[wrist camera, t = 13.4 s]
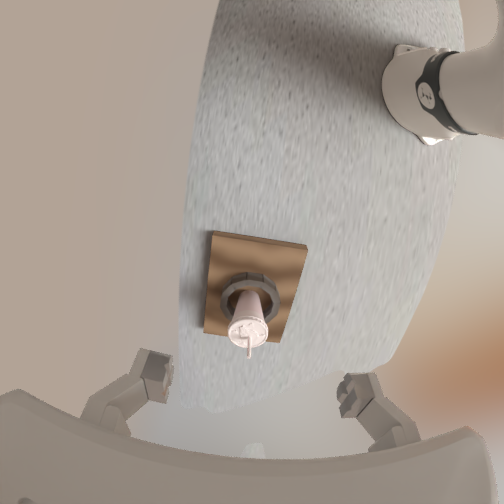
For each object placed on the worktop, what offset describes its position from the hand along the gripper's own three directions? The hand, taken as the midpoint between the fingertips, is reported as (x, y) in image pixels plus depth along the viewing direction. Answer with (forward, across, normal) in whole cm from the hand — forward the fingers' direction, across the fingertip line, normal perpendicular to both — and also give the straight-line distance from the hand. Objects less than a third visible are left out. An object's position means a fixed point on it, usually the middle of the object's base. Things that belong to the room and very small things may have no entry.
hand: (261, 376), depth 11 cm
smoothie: (+33, -2, +20) cm, 38 cm away
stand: (+35, -2, +20) cm, 40 cm away
